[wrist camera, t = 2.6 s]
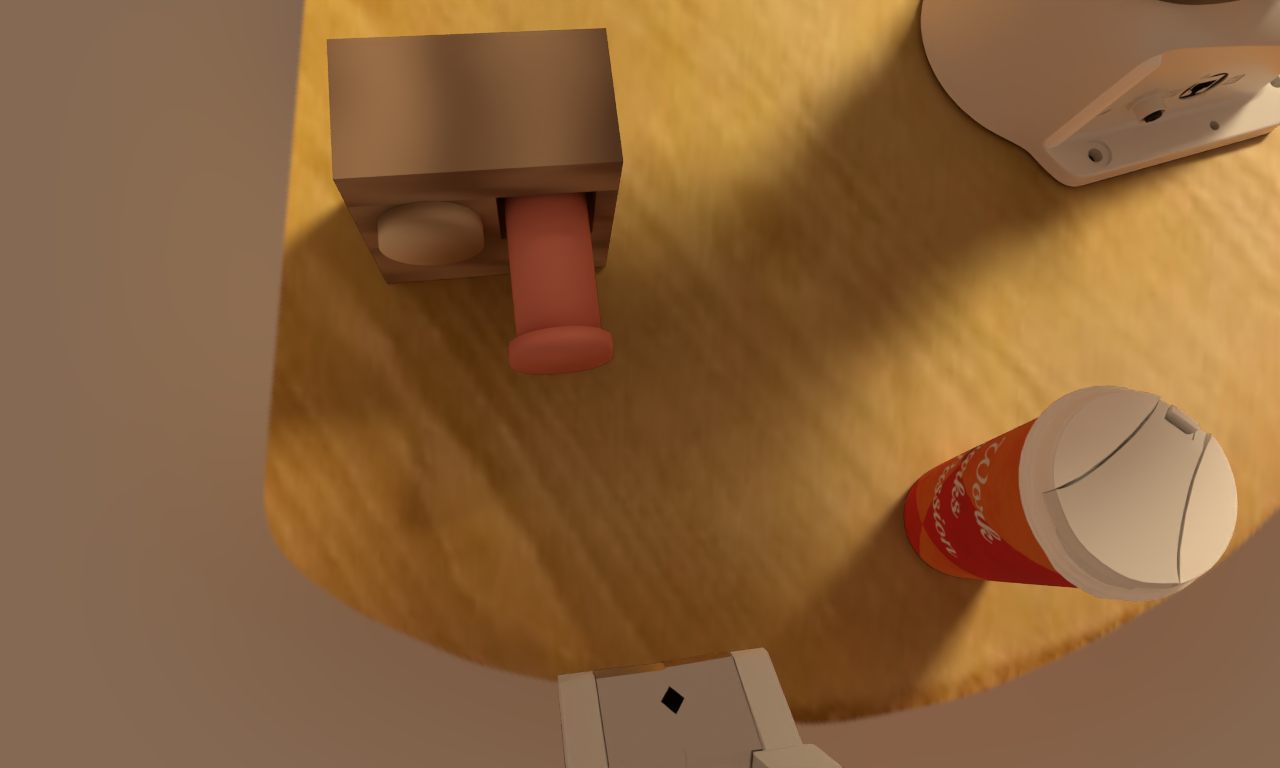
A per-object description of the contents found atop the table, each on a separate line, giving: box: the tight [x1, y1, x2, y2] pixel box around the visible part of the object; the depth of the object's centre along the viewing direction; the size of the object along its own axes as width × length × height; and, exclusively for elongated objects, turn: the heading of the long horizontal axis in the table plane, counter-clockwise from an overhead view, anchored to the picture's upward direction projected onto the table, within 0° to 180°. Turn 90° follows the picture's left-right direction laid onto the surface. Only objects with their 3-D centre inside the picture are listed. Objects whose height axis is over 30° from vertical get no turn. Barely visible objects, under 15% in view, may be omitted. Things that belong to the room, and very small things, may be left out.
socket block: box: [327, 28, 623, 284], centre depth 38 cm, size 11×7×11 cm, turn 97°
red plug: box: [504, 192, 614, 375], centre depth 37 cm, size 4×11×4 cm, turn 7°
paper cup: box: [904, 386, 1238, 601], centre depth 36 cm, size 8×8×14 cm
